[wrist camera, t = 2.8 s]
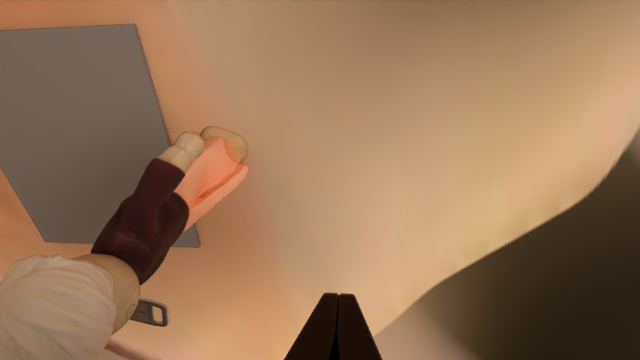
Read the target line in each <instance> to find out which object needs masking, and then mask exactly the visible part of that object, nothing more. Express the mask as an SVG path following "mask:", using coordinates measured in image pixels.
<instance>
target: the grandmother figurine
mask: <svg viewBox="0 0 640 360" xmlns="http://www.w3.org/2000/svg"><path fill="white" fill-rule="evenodd" d="M247 151H248V148H247V144H246V142H245V140H244V139H243V138H242V137H240V136H239V135H237V134H235V133H232V132H229V131H226V130H223V129H220V128H217V127H207V128H206V129H205V130H204V131H203V133H202V135H201V137H200V136H199V135H198V134H196V133H193V132H185V133H183V134H181V135H180V136H179V137H178V138H177V139H176V141H175V144H174V146H171V147H169V148H167V149H166V150H165V151H164V152H163V153H162V154H161V155H160V156H159V157H158V158H154V159H152V160H151V162H150V163H149V164H148V166H147V167H146V169H145V171H144V174H143V175H142V177H141V179H140V181H139V183H138V185H137V187H136V189H135V191H134V193H133V194H132V195H130V196H129V197H127V198H126V199H125V200H123V201H122V202H121V203H120V205H119V208H118V210H117V211H116V213H115V214H114V215H113V216H112V217H111V219H110V220H109V221H108V223H107V224H106V225H105V227H104V228H103V230H102V232H101V233H100V234H99V236H98V238H97V239H96V241H95V243H94V246H93V248H92V250H91V254H87V255H83V256H80V257H76V258H74V259H67V258H64V257H63V256H61V254H57V255H55V256H49V257H46V256H43V255H32V256H29V257H26V258H23V259H21V260H18V261H16V262H15V263H14V264H13V265H12V266H11V267H10V268H9V270H8V271H7V273H6V275H5V278H4V279H3V280H2V282H1V283H0V360H96V358H97V356H98V355H99V354H100V353H101V352H102V351H103V349H104V348H105V346H106V344H107V343H108V342H109V341H110V337H111V335H113V334H114V333H116V332H117V331H118V330H120V329H121V328H122V327H123V326H124V325H125V324H126V322H127V321H128V320H129V319H130V317H131V316H132V314H133V312H134V311H135V309H136V306H137V304H138V301H139V296H140V285H142V284H143V283H144V282H146V281H147V280H148V279H149V278H150V277H151V276H152V275H153V274H154V273H155V271H156V270H157V269H158V268H159V266H160V265H161V263H162V262H163V260H164V258H165V256H166V255H167V252H168V250H169V248H170V247H171V246H172V245H173V244H174V243H175V241H176V240H177V239H178V238H179V237H180V235H181V234H182V232H184V231H186V230H187V229H188V228H189V227H191V226H192V225H193V224H194V223H195V222H196V221H197V220H198V219H200V218H201V217H202V216H203V215H205V214H206V213H207V212H208V211H210V210H211V209H212V208H213V207H214V206H215V205H216V204H217V203H218V202H220V201H221V200H222V199H224V198H225V197H226V196H227V195H228V194H230V193H231V192H232V191H233V190H234V189H235V188H236V187H237V186H238V185H239V184H240V183H241V182H242V181H243V180H244V179H245V178H246V176H247V173H248V167H247V165H244V164H239V163H241V162H242V161H243V160H244V159H245V157H246V155H247Z"/></svg>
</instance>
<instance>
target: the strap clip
mask: <svg viewBox="0 0 640 360" xmlns="http://www.w3.org/2000/svg"><path fill="white" fill-rule="evenodd" d="M153 306H155V307H158V308H161V309H162V314H163V322H157V321H154V313H153ZM130 319H131V320H135V321H138V322H142V323H146V324H150V325H154V326H161V327H165V326H167V324H168V315H167V307H166V306H165V305H163V304H161V303H157V302H154V301H150V300H145V299H139V301H138V304H137V306H136V309H135V311H134V312H133V314H132V316H131V317H130Z"/></svg>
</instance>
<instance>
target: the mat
mask: <svg viewBox="0 0 640 360" xmlns="http://www.w3.org/2000/svg"><path fill="white" fill-rule="evenodd" d="M169 147H171V143H170V140H169V136H168V133H167V130H166V126H165V123H164V119H163V116H162V113H161V109H160V106H159V102H158V99H157V96H156V92H155V89H154V85H153V82H152V79H151V75H150V72H149V68H148V65H147V62H146V58H145V55H144V51H143V48H142V45H141V41H140V38H139V34H138V31H137V28H136V24H122V25H102V26H81V27H61V28H41V29H21V30H0V167H1V169H2V170H3V172H4V174H5V176H6V177H7V179H8V181H9V182H10V184H11V186H12V187H13V189H14V191H15V192H16V194H17V196H18V197H19V199H20V201H21V202H22V204H23V206H24V207H25V209H26V211H27V212H28V214H29V216H30V217H31V219H32V221H33V222H34V224H35V226H36V227H37V229H38V231H39V232H40V234H41V236H42V237H43V239H44V241H45V242H59V243H86V244H94V243H95V241H96V239H97V238H98V236H99V234H100V233H101V232H102V230H103V228H104V227H105V225H106V224H107V223H108V221H109V220H110V219H111V217H112V216H113V215H114V214H115V213H116V211H117V210H118V208H119V205H120V203H121V202H122V201H123V200H125V199H126V198H127V197H129V196H130V195H132V194H133V193H134V191H135V189H136V187H137V185H138V183H139V181H140V179H141V177H142V175H143V174H144V171H145V169H146V167H147V166H148V164H149V163H150V162H151V160H152V159H154V158H158V157H159V156H160V155H161V154H162V153H163V152H164V151H165V150H166V149H167V148H169ZM199 246H200V242H199V238H198V235H197V232H196V228H195V225H194V224H193V225H192V226H191V227H189V228H188V229H187V230H186V231H184V232H182V234H181V235H180V237H179V238H178V239H177V240H176V241H175V243H174V244H173V245H172V246H171V247H194V248H199Z"/></svg>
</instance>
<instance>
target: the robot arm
mask: <svg viewBox="0 0 640 360" xmlns="http://www.w3.org/2000/svg"><path fill="white" fill-rule="evenodd" d="M284 360H382V358H381V355H380V353H379V351H378V348H377V346H376V344H375V341H374V339H373V337H372V334H371V332H370V330H369V327H368V325H367V323H366V320H365V318H364V316H363V314H362V311H361V309H360V307H359V304H358V302H357V300H356V297H355V296H354V295H353V294H344V293H341V294H340V295H338V294H337V293H324V294H323V295H322V297H321V299H320V300H319V302H318V304H317V305H316V307H315V309H314V310H313V312H312V314H311V315H310V317H309V319H308V320H307V322H306V324H305V325H304V327H303V329H302V330H301V332H300V334H299V335H298V337H297V339H296V340H295V342H294V344H293V345H292V347H291V349H290V350H289V352H288V354H287V355H286V357H285V359H284Z"/></svg>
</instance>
